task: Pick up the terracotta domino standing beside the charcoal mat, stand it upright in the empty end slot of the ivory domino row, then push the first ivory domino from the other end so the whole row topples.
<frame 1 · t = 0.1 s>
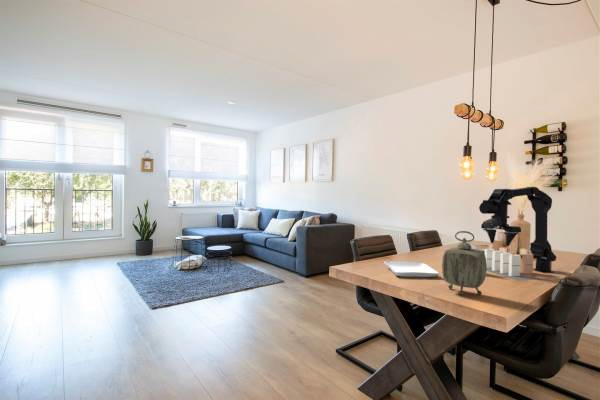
hand: (499, 244, 157), 15 cm above the table, tool pointing down, fingers open, 9 cm apart
domino 2: (497, 270, 160), point 1 cm above the table, touching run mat
salad plate: (409, 273, 155), on the table
tabletop clock: (462, 294, 124), on the table
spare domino: (527, 274, 156), on the table
ink box: (468, 273, 156), on the table
domino 1: (489, 268, 165), point 1 cm above the table, touching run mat
domino 3: (505, 272, 155), point 1 cm above the table, touching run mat
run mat: (504, 273, 156), on the table
domino 4: (514, 275, 151), point 1 cm above the table, touching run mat
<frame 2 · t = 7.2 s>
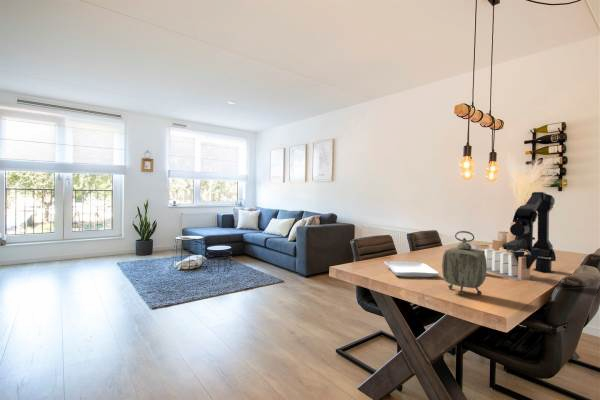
hand: (524, 267, 146), 6 cm above the table, tool pointing down, fingers open, 4 cm apart
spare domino: (523, 278, 146), point 1 cm above the table, touching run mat
everything else where it was.
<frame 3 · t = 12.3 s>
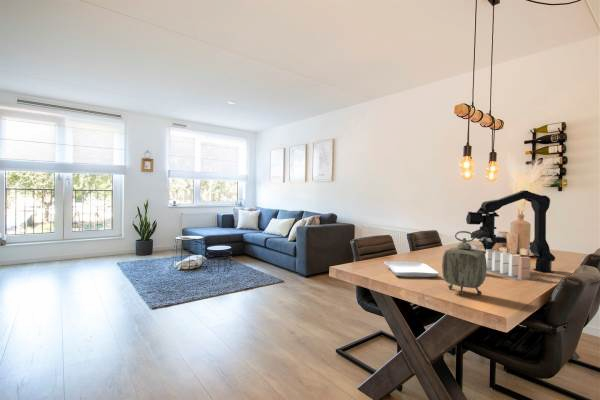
hand: (487, 253, 167), 8 cm above the table, tool pointing down, fingers closed
domino 1: (489, 267, 165), point 1 cm above the table, tilted 5°, touching gripper, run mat
everything else where it was.
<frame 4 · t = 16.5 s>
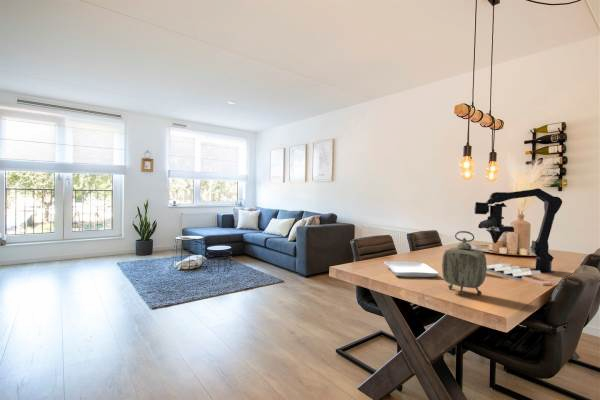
hand: (494, 243, 171), 13 cm above the table, tool pointing down, fingers closed
domino 2: (498, 269, 159), point 1 cm above the table, tilted 72°, touching domino 1, domino 3, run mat
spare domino: (526, 277, 145), point 2 cm above the table, tilted 94°, touching domino 4, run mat
domino 1: (490, 267, 164), point 1 cm above the table, tilted 71°, touching domino 2, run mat
domino 3: (508, 272, 154), point 1 cm above the table, tilted 70°, touching domino 2, domino 4, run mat
domino 4: (517, 274, 149), point 1 cm above the table, tilted 70°, touching domino 3, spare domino
everything else where it was.
at the end: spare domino tilted 94°; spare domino 0.1 cm from the target spot, point 1.5 cm above the table; domino 1 tilted 71° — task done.
